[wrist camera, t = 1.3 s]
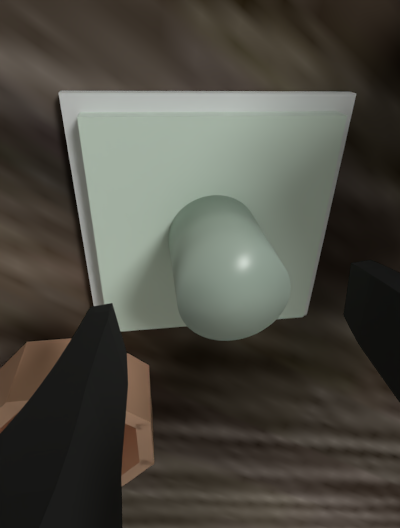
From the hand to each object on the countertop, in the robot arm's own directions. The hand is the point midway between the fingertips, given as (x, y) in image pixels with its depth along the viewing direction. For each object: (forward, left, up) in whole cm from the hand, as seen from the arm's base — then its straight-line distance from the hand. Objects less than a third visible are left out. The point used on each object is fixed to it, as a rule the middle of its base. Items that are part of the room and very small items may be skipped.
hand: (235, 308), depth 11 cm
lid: (0, 0, -5) cm, 5 cm away
